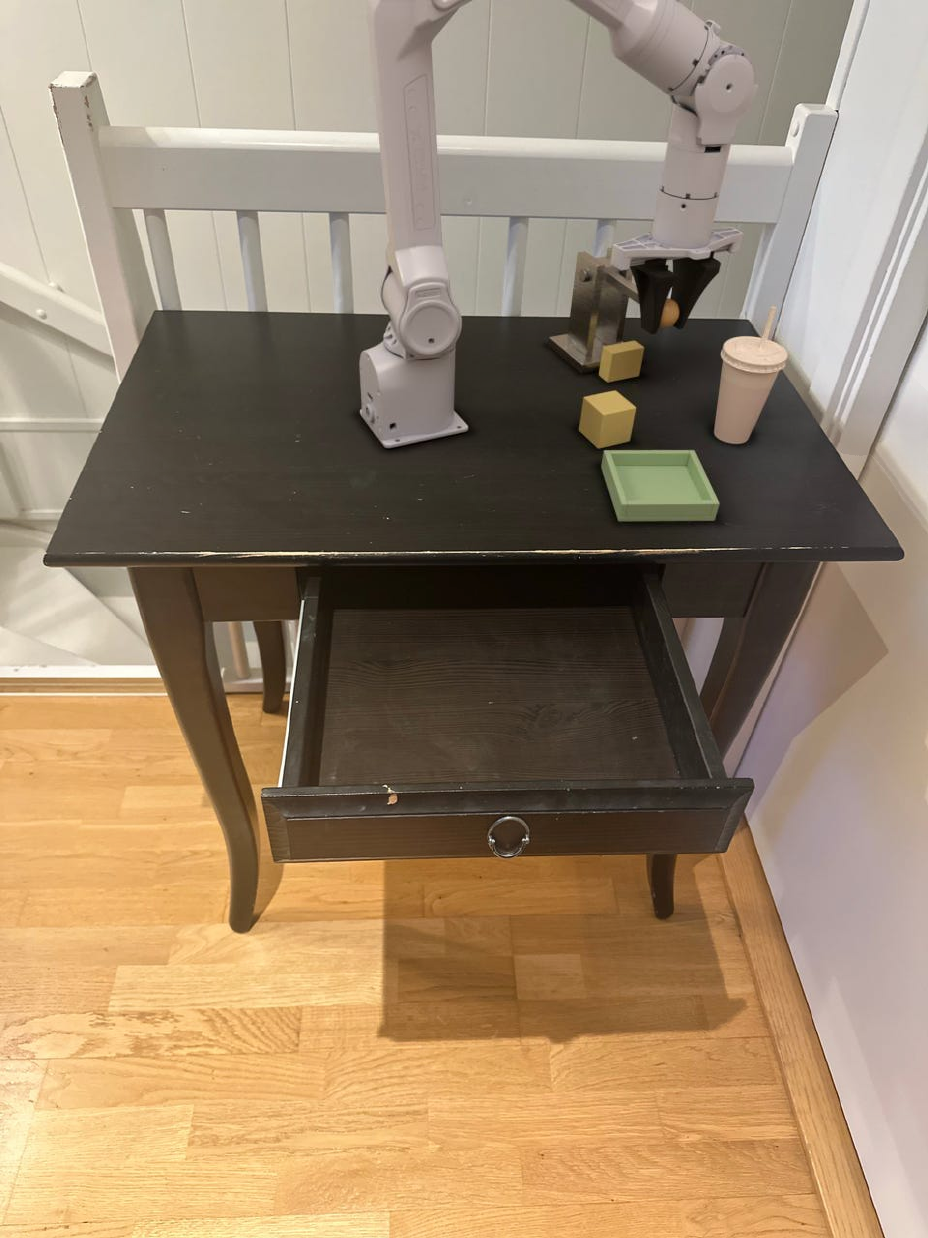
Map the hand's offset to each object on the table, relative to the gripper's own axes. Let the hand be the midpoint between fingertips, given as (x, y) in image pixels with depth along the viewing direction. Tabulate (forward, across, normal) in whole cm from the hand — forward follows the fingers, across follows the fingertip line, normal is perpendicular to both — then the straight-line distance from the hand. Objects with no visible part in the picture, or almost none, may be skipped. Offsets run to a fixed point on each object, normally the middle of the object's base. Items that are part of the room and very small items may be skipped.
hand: (661, 327), depth 90 cm
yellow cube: (+8, -9, -5) cm, 13 cm away
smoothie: (+9, +4, -10) cm, 14 cm away
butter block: (+8, 0, +6) cm, 10 cm away
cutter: (+8, 0, +12) cm, 15 cm away
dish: (+8, -10, -16) cm, 21 cm away
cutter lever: (0, 0, +6) cm, 6 cm away
